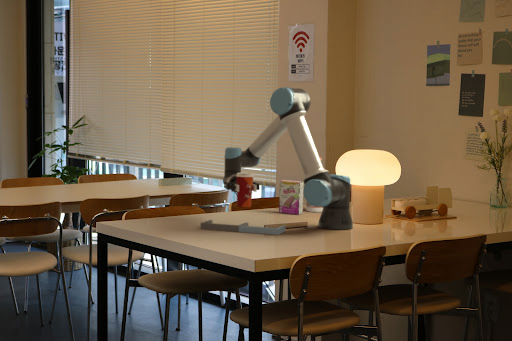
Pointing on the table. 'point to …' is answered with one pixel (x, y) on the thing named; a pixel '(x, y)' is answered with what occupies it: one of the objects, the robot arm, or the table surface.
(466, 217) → the table surface
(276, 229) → the bay organizer
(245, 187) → the paper cup
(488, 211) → the table surface
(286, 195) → the candy bar box
